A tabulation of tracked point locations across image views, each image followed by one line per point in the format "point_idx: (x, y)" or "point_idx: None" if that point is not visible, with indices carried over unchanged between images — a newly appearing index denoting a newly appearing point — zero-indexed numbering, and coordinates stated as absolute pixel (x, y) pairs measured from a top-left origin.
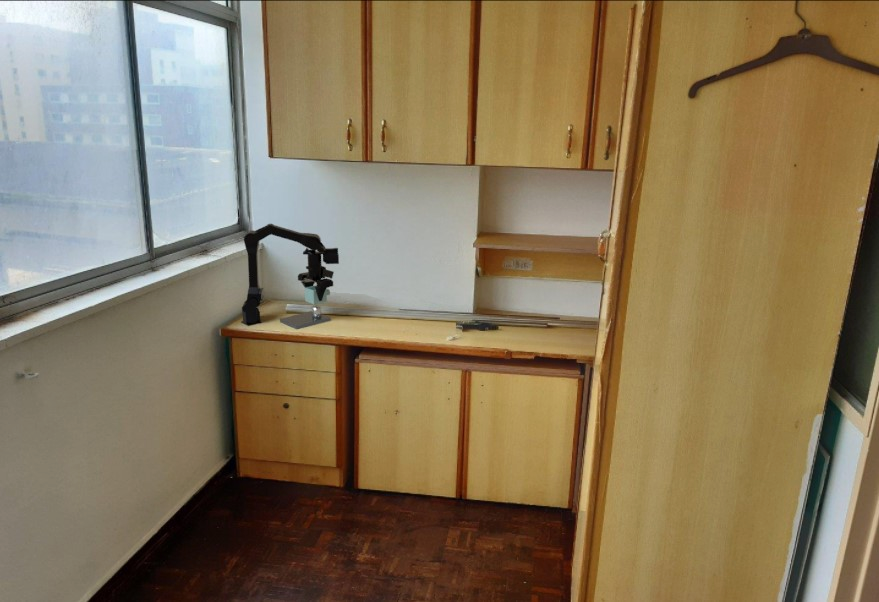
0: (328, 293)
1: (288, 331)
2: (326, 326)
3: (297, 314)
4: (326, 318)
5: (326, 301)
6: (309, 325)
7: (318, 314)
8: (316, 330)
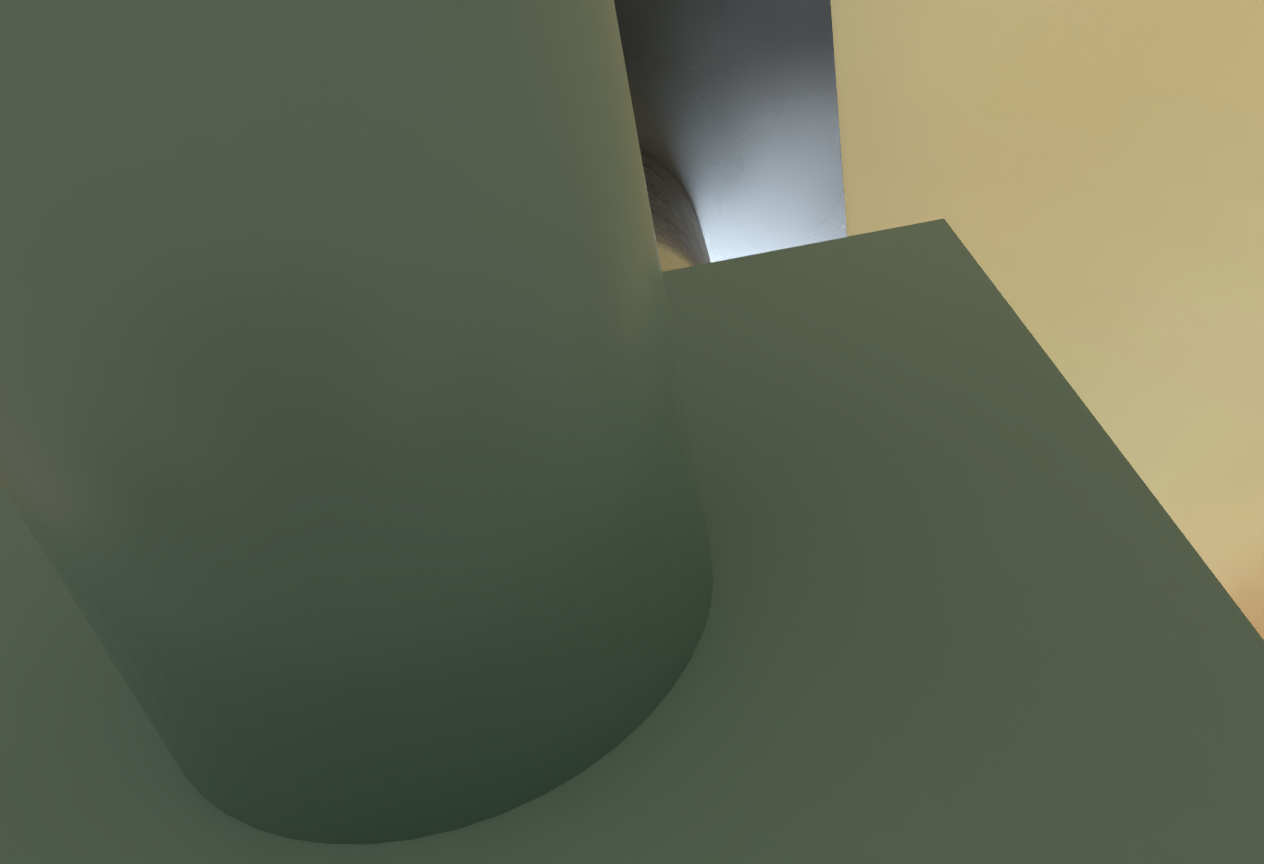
0: (603, 17)
1: None
2: (1125, 182)
3: None
4: (831, 51)
5: (951, 249)
6: None
7: None
8: (1178, 472)
